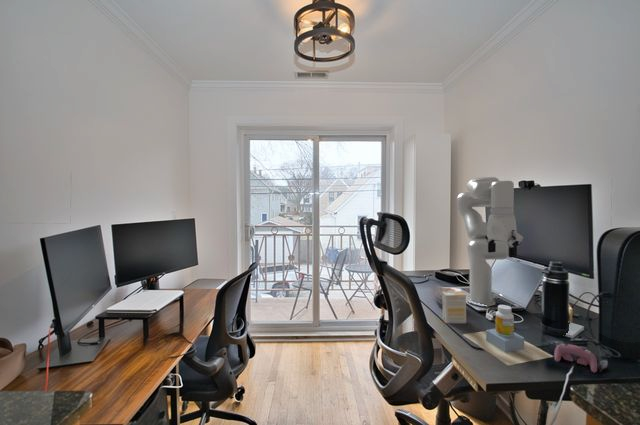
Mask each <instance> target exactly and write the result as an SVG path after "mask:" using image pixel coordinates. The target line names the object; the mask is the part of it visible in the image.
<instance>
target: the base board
mask: <svg viewBox="0 0 640 425" xmlns="http://www.w3.org/2000/svg"><path fill="white" fill-rule="evenodd" d="M462 336H463V337H465V338H467V339H468V340H469V341H471V342H472V343H474V344H475V345H477V346H478V347H480V348H481V349H482V350H484V351H485V352H487V353H489V354H490V355H491V356H493V357H495V358H496V359H497V360H499V361H501V362H502V363H503V364H505V365H506V366H513V365H517V364H524V363H528V362H534V361H539V360H544V359H548V358H555V357H554V355H552V354H550V353H548V352H547V351H544V350H543V349H541V348H539V347H537V346H535V345H534V344H532V343H530V342H528V341H526V340H524V349H522V350H516V351H511V352H503V351H502V350H500V349H498V348H497V347H495V346H494V345H492V344H491V343H489V342H487V341H486V330H484V331H483V330H482V331H478V332H477V331H476V332H471V333H464V334H462Z"/></svg>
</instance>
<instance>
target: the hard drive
mask: <svg viewBox="0 0 640 425" xmlns="http://www.w3.org/2000/svg"><path fill="white" fill-rule="evenodd" d="M584 330H585V326H583V325H580V324H577V323H573V322H570V324H569V331H568V333H566V335H565V336H564V337H567V338H570V339H574V338H575V337H577V336H578V335H579V334H580V333H582V331H584Z"/></svg>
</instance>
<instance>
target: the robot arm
mask: <svg viewBox="0 0 640 425" xmlns="http://www.w3.org/2000/svg"><path fill="white" fill-rule="evenodd" d="M514 186H515V184H514V182H513V181H512V180H500V179H499V178H497V177H494V176H493V177H492V176H491V177H474V178H472V179H470V180H469V181H468V182H467V184H466V188H467V191H465V192H461V193H459V194H458V196H457V197H456V206H457V210H458V212H459V213H460V215H461V216H462V219H463V222H464V226H465V230H466V234H467V237H468V239H469V240H471V241H469V242H468V244H467V253H468V261H469V296H468V297H470V298H468V299H470V301H473V302H476V303H480V304H484V305H487V306H491V305H495V306H496V301H495V299H499V298H500V297H501V295H500V294H499V293H494V294H493V292H492V290H493V288H492V284H493V282H492V281H493V280H492V279H493V277H492V274H493V273H492V272H493V270H492V267H491V265H490V264H489V263H488V262H487V260H489V261H490V260H496V261H498V260H507V259H508V258H517V256H518V254H517V252H518V249H517V248H519V246H520V245H521V244H522V241H523V240H524V236H523V235H521V234H520V233H518V232H517V231H518V230H517V222H516V220H517V219H516V216H515V214H514V209H515V208H514V204H515V203H514V201H515V198H514V197H515V195H514V194H515V188H514ZM489 207H490V209H489V210H490V214H489V215H488V220H487V222H486V221H484V220H483V217H482V215H481V214H480V213H479V211H477V210H476V209H475V208H489ZM470 301H469V302H470Z"/></svg>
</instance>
